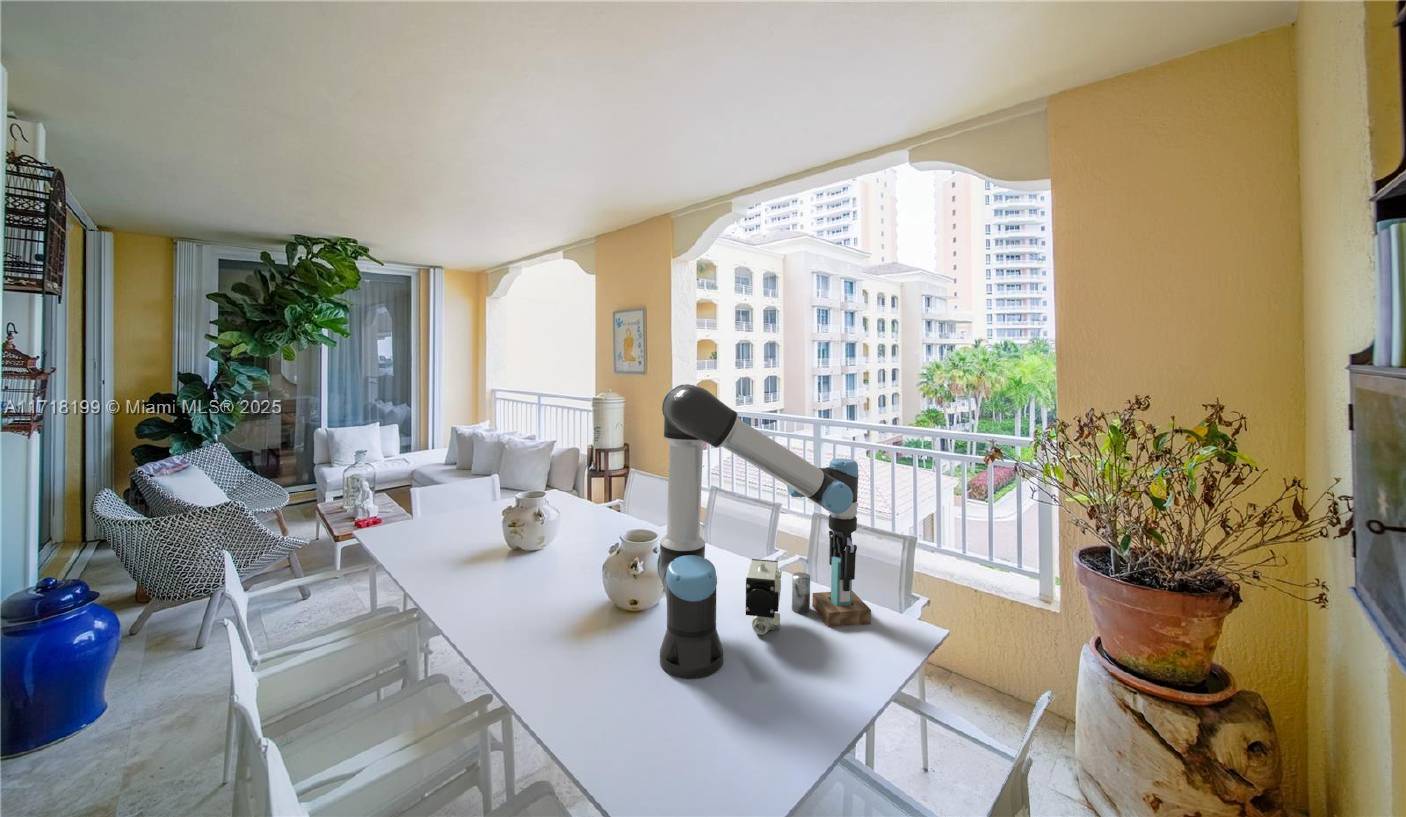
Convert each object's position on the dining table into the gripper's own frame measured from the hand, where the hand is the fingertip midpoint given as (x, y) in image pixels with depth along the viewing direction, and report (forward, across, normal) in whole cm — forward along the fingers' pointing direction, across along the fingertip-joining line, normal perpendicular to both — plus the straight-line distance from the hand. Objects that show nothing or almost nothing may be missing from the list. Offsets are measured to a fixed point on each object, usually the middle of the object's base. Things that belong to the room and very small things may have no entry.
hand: (840, 596), depth 144 cm
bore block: (+5, 0, 0) cm, 5 cm away
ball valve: (+5, -4, +23) cm, 24 cm away
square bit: (+2, 0, 0) cm, 2 cm away
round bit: (+5, +4, +10) cm, 12 cm away
